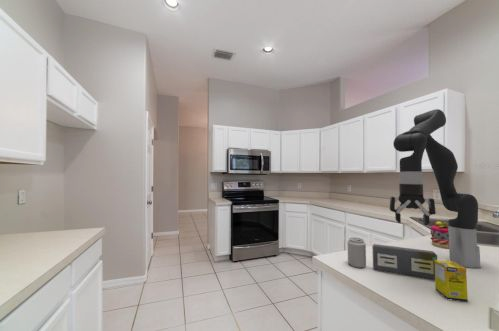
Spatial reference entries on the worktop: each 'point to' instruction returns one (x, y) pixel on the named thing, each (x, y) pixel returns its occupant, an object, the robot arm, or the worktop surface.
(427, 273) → the panel
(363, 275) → the worktop surface
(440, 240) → the cake
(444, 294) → the supplement box
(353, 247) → the can
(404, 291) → the worktop surface
